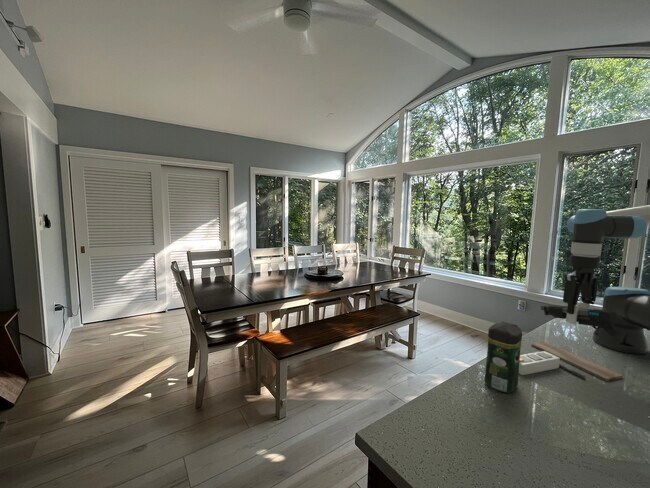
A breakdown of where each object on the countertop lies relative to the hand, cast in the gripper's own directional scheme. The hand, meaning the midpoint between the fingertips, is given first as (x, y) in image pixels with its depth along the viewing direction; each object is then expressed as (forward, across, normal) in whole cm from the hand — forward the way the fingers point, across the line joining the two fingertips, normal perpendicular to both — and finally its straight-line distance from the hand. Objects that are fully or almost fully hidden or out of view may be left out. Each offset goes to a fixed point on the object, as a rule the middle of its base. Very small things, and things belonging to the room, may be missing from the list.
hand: (576, 321), depth 99 cm
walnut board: (+14, 0, 0) cm, 14 cm away
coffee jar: (+14, +37, +4) cm, 40 cm away
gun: (+1, 0, 0) cm, 1 cm away
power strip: (+14, +17, +4) cm, 22 cm away
